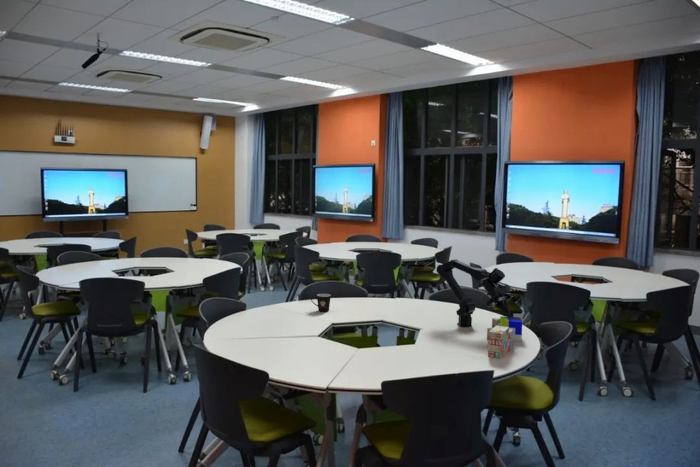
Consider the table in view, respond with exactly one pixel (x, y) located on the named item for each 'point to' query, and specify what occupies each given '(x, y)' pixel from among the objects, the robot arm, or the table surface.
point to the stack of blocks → (500, 341)
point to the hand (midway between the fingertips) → (509, 312)
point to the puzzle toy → (513, 326)
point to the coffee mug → (323, 302)
